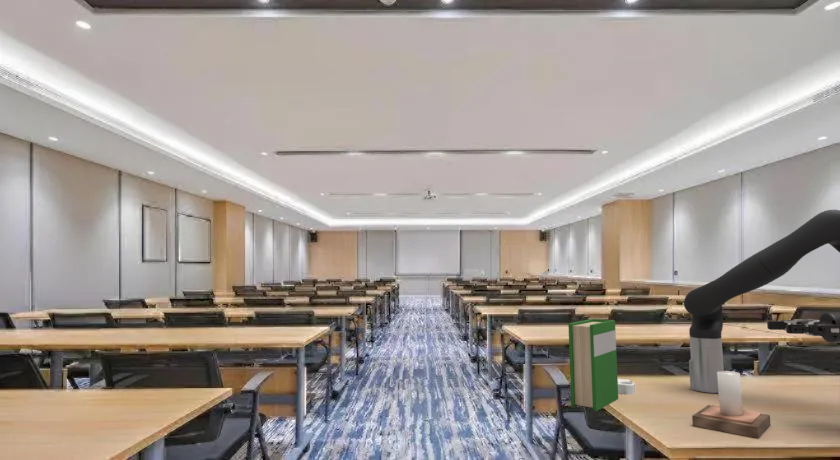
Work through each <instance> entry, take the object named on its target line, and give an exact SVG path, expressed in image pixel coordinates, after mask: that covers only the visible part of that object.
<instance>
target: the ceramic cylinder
mask: <svg viewBox="0 0 840 460" xmlns="http://www.w3.org/2000/svg"><path fill="white" fill-rule="evenodd" d="M717 378H718V392H719V393H718V404H719V405H718V406H719V407H720V413H722V414H725V415H730V416H742V415H743V410H744V409H743V408H744V407H743V397H742V396H743V394H742V385H741V384H742V380H741V373H740V372H737V371H733V370H731V371H730V370H724V371H718V372H717Z"/></svg>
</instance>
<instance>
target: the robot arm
mask: <svg viewBox="0 0 840 460" xmlns="http://www.w3.org/2000/svg"><path fill="white" fill-rule="evenodd" d="M827 244H829V245H830V246H831V247H833V248H834V250H836V251H837V252H839V253H840V210H839V209H828V210H824V211H822V212H819V213H817V214H815V216H813V217H811V218H810V219H809V220H807V221H806V222H804V224H802V225H800V226H799V227H798V228H797V229H795V230H794V231H792V232H791V233H789V234H788V235H786V236H784V237H782V238H781V239H779V240H777V241H775V242H772V244H770V245H768V246H766V247H765V248H763V249H761V250H760V251H758V252H756V253H755V254H752V255H751V256H749V257H747V258H746V259H744V260H743V261H741V262H739V263H738V264H737V265H735V266H734V267H732V268H731V269H729V270H728V271H727V272H725V273H724V274H722V275H721V276H719V277H717V278H716V279H714V280H713V281H709V282H707V283H706V284H703V285H702V286H698V287H697V288H695V289H693V290H691V291H689V292H687V294H686V296H685V297H684V301H683V305H684V308H685V310H686V312H688V314H690V315H691V316H692V317H691V318H692V319H691V320H692V321H691V326H690V327H689V329H688V331H689V334H688V335H689V347H690V348H689V349H690V350H689V351H690V359H689V360H688V364H689V365H688V366H689V367H688V368H689V384H690V386H689V387H690V388H689V389H690V390H692V391H697V392H701V393H710V394H719V392H718V378H717V372H718V371H725V370H724V356H723V341H722V340H723V339H722V331H723V329H724V328H723V327H724V318H723V313H724V312H723V304H725V303H726V302H728V301H730V300H732V299H734V298H736V297H739V296H741V295H744V294H747V293H749V292H752V291H754V290H757V289H759V288H762V287H764V286H766V285H768V284H770V283H772V282H773V281H776V280H777V279H779V278H781V277H782V276H784V275H785V274H787V273H788V272H789V271H790V270H791V269H792V268H793V267H794V266H795V265H797V263H798V262H799V261H801V259H802V258H804V257H805V256H806V255H808V254H809V253H811V252H813V251H815V250H817V249H819V248H821V247H823V246H825V245H827ZM766 324H767V329H768V330H770V331H785V332H786V334H790V335H791V334H794V335H795V334H796V335H801V334H802V335H803V334H804V335H806V336H810V337H811V336H813V337H822V339H823V340H824V341H826V342H827V343H830V344H833V343H834V344H836V343H837V344H838V343H839V344H840V312H824V313H822V314H821V315H820V316H819V319H815V318H807V319H801V318H800V319H780V320H769V321H766Z"/></svg>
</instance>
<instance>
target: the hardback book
mask: <svg viewBox="0 0 840 460" xmlns="http://www.w3.org/2000/svg"><path fill="white" fill-rule="evenodd" d="M616 339H617V335H616V320H615V319H613V320H612V319H596V318H591V319H585V320H580V321H575V322H570V323H568V346H569V347H568V349H569V350H568V352H569V375H570V376H569V380H570V383H569V384H570V406H571V408H576V407H578V406H582V407H588V408H592V411H593V412H598V411H600V410H601V409H603V408H605V407H607V406H608V405H610V404H612V403H614V402H616V401H619V393H618V379H619V377H618V361H617V357H618V356H617V340H616Z"/></svg>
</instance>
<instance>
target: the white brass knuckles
mask: <svg viewBox="0 0 840 460" xmlns="http://www.w3.org/2000/svg"><path fill="white" fill-rule="evenodd" d="M618 394H619V395H620V394H621V395H635V394H636V383H635V382H633V381H632V380H630V379H628V378H627V379H623V378H618Z"/></svg>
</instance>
